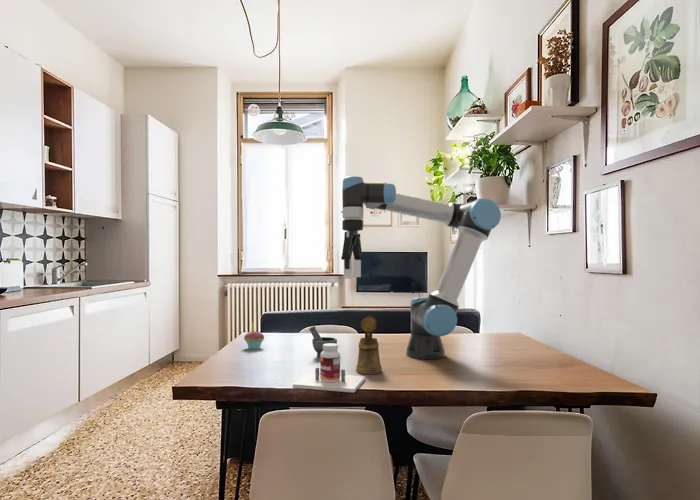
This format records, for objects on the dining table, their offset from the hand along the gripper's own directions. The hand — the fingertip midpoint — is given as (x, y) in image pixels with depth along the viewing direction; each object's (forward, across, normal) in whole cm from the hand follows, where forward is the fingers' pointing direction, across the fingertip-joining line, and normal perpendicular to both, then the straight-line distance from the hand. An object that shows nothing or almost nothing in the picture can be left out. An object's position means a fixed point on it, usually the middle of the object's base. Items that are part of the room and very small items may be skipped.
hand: (352, 277), depth 159 cm
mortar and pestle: (+32, -11, -15) cm, 37 cm away
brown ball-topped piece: (+32, +4, +7) cm, 33 cm away
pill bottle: (+31, +24, -1) cm, 39 cm away
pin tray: (+32, +24, -1) cm, 40 cm away
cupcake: (+32, -19, -49) cm, 61 cm away
